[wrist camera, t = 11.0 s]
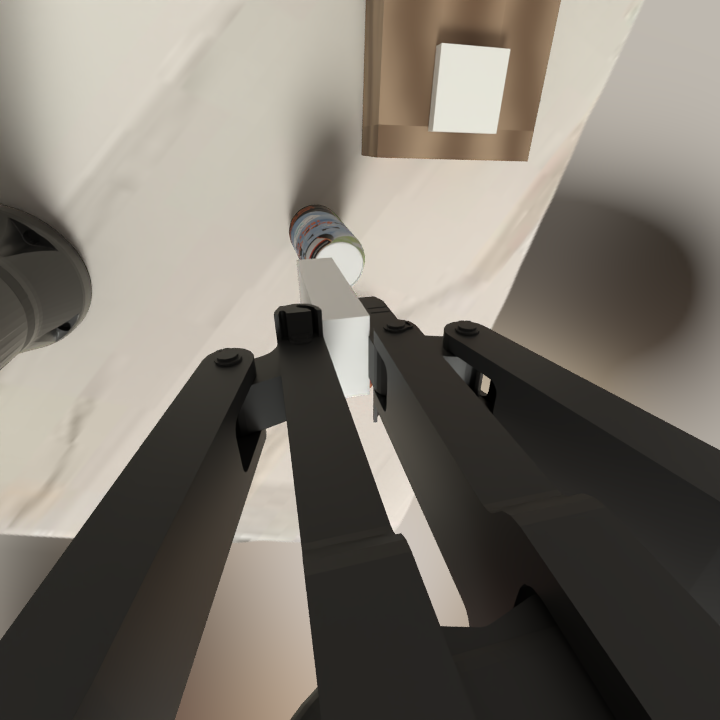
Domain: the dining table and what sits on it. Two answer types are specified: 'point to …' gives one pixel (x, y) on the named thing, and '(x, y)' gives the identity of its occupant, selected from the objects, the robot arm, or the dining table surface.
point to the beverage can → (327, 240)
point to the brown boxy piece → (416, 70)
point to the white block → (467, 88)
